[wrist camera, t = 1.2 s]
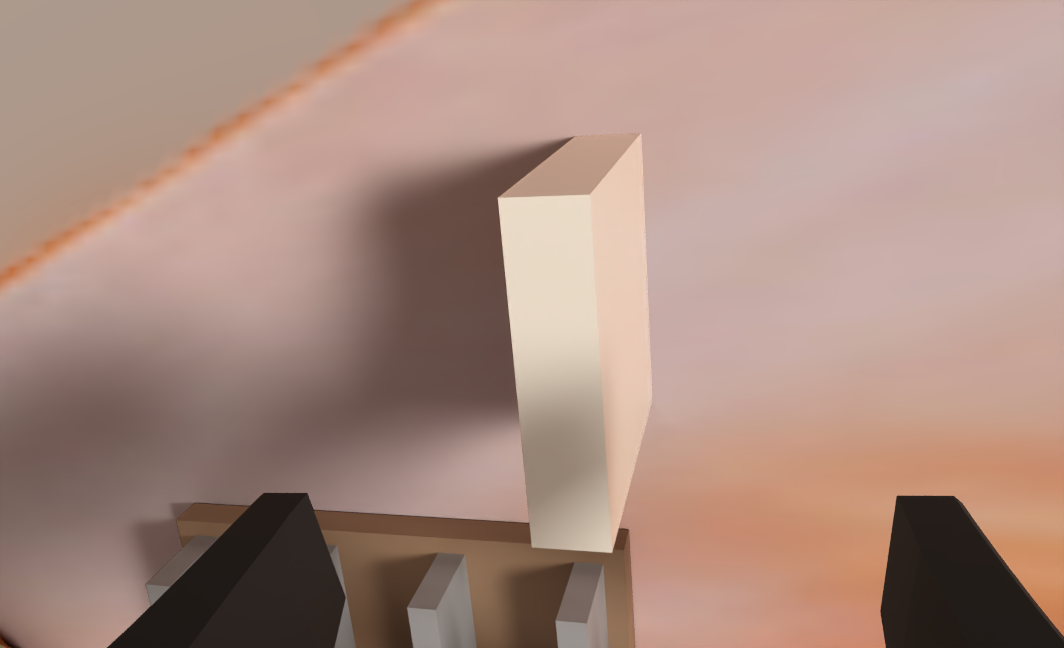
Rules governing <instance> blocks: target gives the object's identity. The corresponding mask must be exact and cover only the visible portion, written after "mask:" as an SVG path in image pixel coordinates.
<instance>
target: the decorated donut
mask: <svg viewBox="0 0 1064 648" xmlns="http://www.w3.org/2000/svg"><path fill="white" fill-rule="evenodd" d="M0 648H11V647H9V646H8V645H6V644H5V642H4V640H3V638H2V637H0Z"/></svg>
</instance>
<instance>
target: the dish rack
mask: <svg viewBox="0 0 1064 648" xmlns="http://www.w3.org/2000/svg"><path fill="white" fill-rule="evenodd" d="M248 508H249V506H232V505H216V504H199V503H194V504H193V505H192V506H191V507H190V508H189V509H188V510H187V511H185V512H184V513H183V514H182V515H181V516H180V517H179V518H178V519H177V520H176V523H177V527H178V531H179V535H180V539H181V542H182V546H183V548H182V549H181V550H180V551H179V552H178V553H177V554H176V555H175V556H174V557H173V558H172V559H171V560H170V561H169V562H168V563H167V564H166V565H165V566H164V567H163V568H162V569H161V570H160V571H159V572H158V573H157V574H156V575H155V576H153V577H152V578H151V579H150V580H149V581H148V582H147V583H146V584H145V585H146V589H147V592H148V596H149V600H150V603H151V605H152V604H154V603H155V602H156V601H157V600H158V599H159V598H160V597H161V596H162V595H163V594H164V593H165V592H166V591H167V590H168V589H169V588H170V587H171V586H172V585H173V584H174V583H175V582H176V581H177V580H178V579H179V578H180V577H181V576H182V575H183V574H184V573H185V572H186V571H187V570H188V569H189V568H190V567H191V566H192V565H193V564H194V563H195V562H196V561H197V560H198V559H199V558H200V557H201V556H202V555H203V553H204V552H205V551H206V550H207V549H208V548H209V547H210V546H211V545H212V544H213V543H214V542H215V541H216V540H217V539H218V538H219V537H220V536H221V535H222V534H223V533H224V532H225V531H226V530H227V529H228V528H229V527H230V526H231V525H232V524H233V523H234V522H235V521H236V520H237V519H238V518H239V517H240V516H241V515H242V514H243V513H244V512H245V511H246V510H247V509H248ZM314 513H315V515H316V518H317V521H318V523H319V526H320V529H321V531H322V534H323V537H324V540H325V542H326V545H327V548H328V550H329V553H330V556H331V558H332V561H333V564H334V566H335V569H336V572H337V575H338V577H339V580H340V583H341V585H342V588H343V591H344V593H345V596H346V599H345V604H344V608H343V612H342V617H341V621H340V626H339V630H338V635H337V639H336V643H335V647H334V648H635V632H634V614H633V595H632V577H631V558H630V540H629V530H626V529H618V532H617V536H616V540H615V544H614V548H613V551H612V553H606V552H592V551H577V550H562V549H547V548H533V547H532V544H531V534H530V524H528V523H511V522H495V521H479V520H462V519H446V518H429V517H413V516H396V515H380V514H364V513H347V512H331V511H314Z"/></svg>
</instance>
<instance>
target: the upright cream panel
mask: <svg viewBox="0 0 1064 648" xmlns="http://www.w3.org/2000/svg"><path fill="white" fill-rule="evenodd" d="M498 205H499V216H500V226H501V236H502V246H503V257H504V267H505V277H506V287H507V298H508V308H509V318H510V329H511V339H512V349H513V359H514V370H515V380H516V390H517V400H518V411H519V421H520V431H521V441H522V452H523V462H524V472H525V483H526V493H527V503H528V513H529V524H530V534H531V544H532V547H533V548H547V549H562V550H577V551H592V552H606V553H612V551H613V548H614V544H615V540H616V536H617V532H618V529H619V525H620V521H621V517H622V513H623V510H624V506H625V502H626V498H627V494H628V491H629V487H630V483H631V479H632V475H633V472H634V468H635V464H636V460H637V456H638V453H639V449H640V445H641V441H642V437H643V434H644V430H645V426H646V422H647V418H648V415H649V411H650V407H651V403H652V382H651V358H650V334H649V310H648V286H647V262H646V238H645V213H644V189H643V165H642V141H641V133H629V134H610V135H590V136H575V137H574V138H573V139H571V140H570V141H569V142H567V143H566V144H565V145H564V146H562V147H561V148H560V149H559V150H557V151H556V152H555V153H554V154H552V155H551V156H550V157H549V158H547V159H546V160H545V161H544V162H542V163H541V164H540V165H538V166H537V167H536V168H535V169H533V170H532V171H531V172H530V173H528V174H527V175H526V176H525V177H523V178H522V179H521V180H520V181H518V182H517V183H516V184H515V185H513V186H512V187H511V188H510V189H508V190H507V191H506V192H504V193H503V194H502V195H501V196H499V197H498Z"/></svg>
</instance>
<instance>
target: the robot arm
mask: <svg viewBox="0 0 1064 648" xmlns="http://www.w3.org/2000/svg"><path fill="white" fill-rule="evenodd" d="M345 599H346V596H345V593H344V591H343V588H342V585H341V583H340V580H339V577H338V575H337V572H336V569H335V566H334V564H333V561H332V558H331V556H330V553H329V550H328V548H327V545H326V542H325V540H324V537H323V534H322V531H321V529H320V526H319V523H318V521H317V518H316V515H315V513H314V510H313V507H312V504H311V502H310V499H309V496H308V494H307V493H263V494H262V495H261V496H260V497H259V498H258V499H257V500H256V501H255V502H254V503H253V504H252V505H251V506H250V507H249V508H248V509H247V510H246V511H245V512H244V513H243V514H242V515H241V516H240V517H239V518H238V519H237V520H236V521H235V522H234V523H233V524H232V525H231V526H230V527H229V528H228V529H227V530H226V531H225V532H224V533H223V534H222V535H221V536H220V537H219V538H218V539H217V540H216V541H215V542H214V543H213V544H212V545H211V546H210V547H209V548H208V549H207V550H206V551H205V552H204V553H203V555H202V556H201V557H200V558H199V559H198V560H197V561H196V562H195V563H194V564H193V565H192V566H191V567H190V568H189V569H188V570H187V571H186V572H185V573H184V574H183V575H182V576H181V577H180V578H179V579H178V580H177V581H176V582H175V583H174V584H173V585H172V586H171V587H170V588H169V589H168V590H167V591H166V592H165V593H164V594H163V595H162V596H161V597H160V598H159V599H158V600H157V601H156V602H155V603H154V604H152V605H151V606H150V607H149V608H148V609H147V610H146V611H145V612H144V613H143V614H142V615H141V616H140V617H139V618H138V619H137V620H136V621H135V622H134V623H133V624H132V625H131V626H130V627H129V628H128V629H127V630H126V631H125V632H124V633H122V634H121V635H120V636H119V637H118V638H117V639H116V640H115V641H114V642H113V643H112V644H111V645H109V646H108V647H107V648H334V647H335V643H336V639H337V635H338V630H339V626H340V621H341V617H342V612H343V608H344V604H345ZM880 612H881V618H882V625H883V631H884V637H885V644H886V648H1064V636H1063V635H1062V634H1061V633H1060V632H1059V630H1058V629H1057V628H1056V627H1055V626H1054V624H1053V623H1052V622H1051V621H1050V619H1049V618H1048V617H1047V616H1046V614H1045V613H1044V612H1043V611H1042V609H1041V608H1040V607H1039V606H1038V604H1037V603H1036V602H1035V601H1034V599H1033V598H1032V597H1031V596H1030V594H1029V593H1028V592H1027V590H1026V589H1025V588H1024V587H1023V585H1022V584H1021V583H1020V581H1019V580H1018V579H1017V577H1016V576H1015V575H1014V574H1013V572H1012V571H1011V570H1010V568H1009V567H1008V566H1007V564H1006V563H1005V562H1004V560H1003V559H1002V558H1001V556H1000V555H999V554H998V552H997V551H996V550H995V548H994V547H993V546H992V544H991V543H990V541H989V540H988V539H987V537H986V536H985V535H984V533H983V532H982V530H981V529H980V528H979V526H978V525H977V523H976V522H975V521H974V519H973V518H972V516H971V515H970V514H969V512H968V511H967V509H966V508H965V506H964V505H963V504H962V503H961V502H960V501H959V500H958V499H957V498H956V497H954V496H897V498H896V505H895V512H894V519H893V526H892V533H891V540H890V548H889V555H888V562H887V569H886V576H885V583H884V590H883V597H882V604H881V611H880Z"/></svg>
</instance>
